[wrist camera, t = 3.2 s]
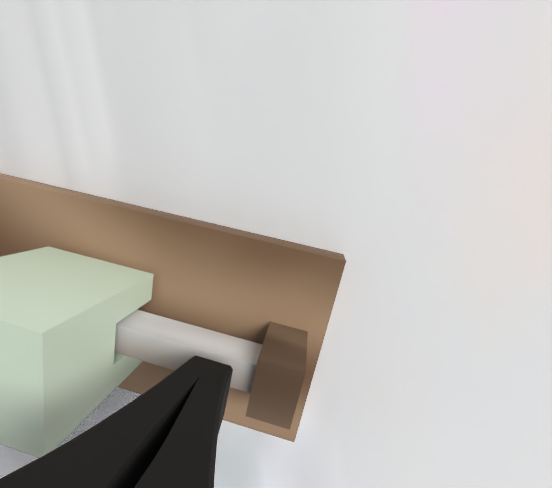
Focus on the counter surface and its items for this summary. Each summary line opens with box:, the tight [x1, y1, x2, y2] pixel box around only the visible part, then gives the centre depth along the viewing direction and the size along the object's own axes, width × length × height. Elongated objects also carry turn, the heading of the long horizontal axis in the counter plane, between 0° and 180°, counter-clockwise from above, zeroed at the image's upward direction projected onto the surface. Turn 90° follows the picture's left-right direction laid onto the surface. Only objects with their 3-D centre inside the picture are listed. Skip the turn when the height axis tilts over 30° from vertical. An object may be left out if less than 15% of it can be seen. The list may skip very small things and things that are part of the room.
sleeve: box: [0, 246, 154, 458], centre depth 9 cm, size 4×5×4 cm
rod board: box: [0, 174, 346, 442], centre depth 11 cm, size 9×28×4 cm, turn 78°
